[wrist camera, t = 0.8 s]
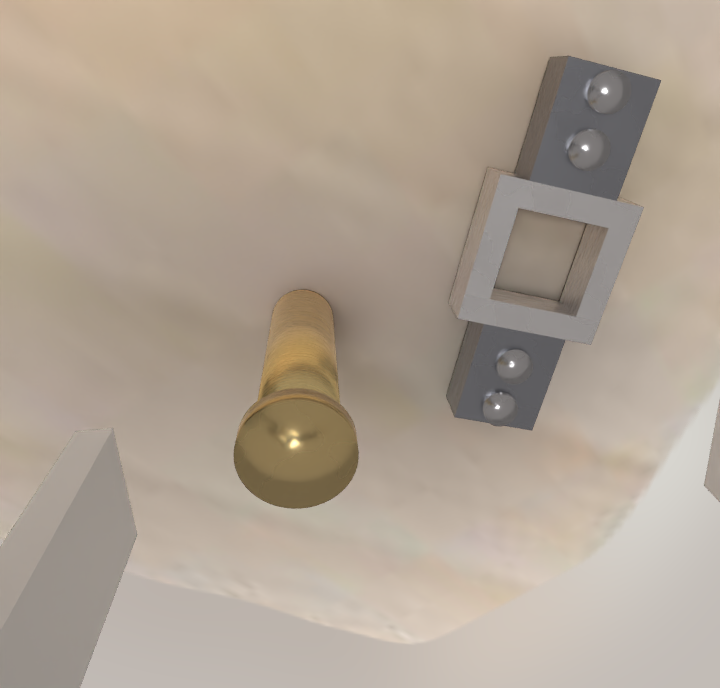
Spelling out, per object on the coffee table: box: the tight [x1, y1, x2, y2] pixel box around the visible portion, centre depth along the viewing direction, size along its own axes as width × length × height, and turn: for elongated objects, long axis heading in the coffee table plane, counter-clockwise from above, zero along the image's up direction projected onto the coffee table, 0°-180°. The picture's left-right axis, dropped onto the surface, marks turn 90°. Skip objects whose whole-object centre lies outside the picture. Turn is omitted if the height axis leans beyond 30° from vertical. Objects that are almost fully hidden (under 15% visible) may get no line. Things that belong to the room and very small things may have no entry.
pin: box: [234, 290, 359, 508], centre depth 28 cm, size 4×4×14 cm
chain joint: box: [446, 56, 661, 430], centre depth 33 cm, size 18×7×3 cm, turn 167°
